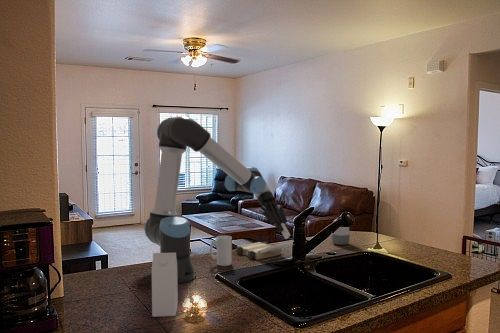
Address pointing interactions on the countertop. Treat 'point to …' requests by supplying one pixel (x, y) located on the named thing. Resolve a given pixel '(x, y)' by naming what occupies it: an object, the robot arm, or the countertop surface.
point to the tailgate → (276, 247)
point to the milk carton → (164, 284)
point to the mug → (222, 250)
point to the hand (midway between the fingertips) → (287, 236)
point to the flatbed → (256, 250)
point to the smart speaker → (341, 236)
